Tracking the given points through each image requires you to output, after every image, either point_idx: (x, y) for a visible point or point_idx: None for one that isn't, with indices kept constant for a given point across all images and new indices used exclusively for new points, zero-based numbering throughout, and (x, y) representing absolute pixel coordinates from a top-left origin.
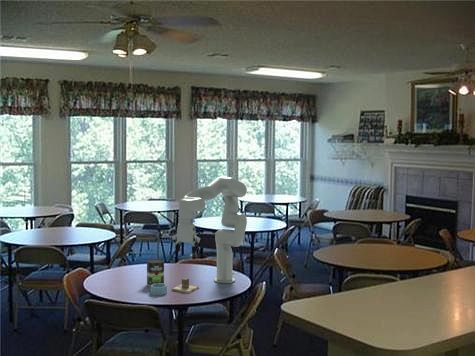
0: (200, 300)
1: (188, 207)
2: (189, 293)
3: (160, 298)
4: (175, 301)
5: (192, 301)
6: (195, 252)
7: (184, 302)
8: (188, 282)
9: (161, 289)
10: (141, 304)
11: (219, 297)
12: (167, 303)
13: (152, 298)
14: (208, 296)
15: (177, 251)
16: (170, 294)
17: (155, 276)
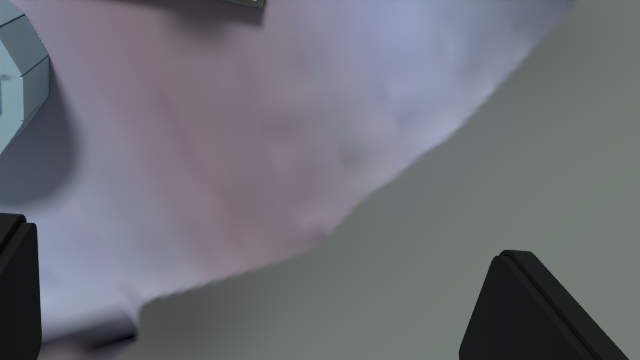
0: (406, 151)
1: None
2: (262, 4)
3: (75, 198)
4: (230, 228)
5: (354, 190)
6: (524, 255)
7: (304, 228)
8: None
9: (11, 140)
10: None
11: (540, 29)
12: (195, 283)
13: None
14: (447, 27)
15: (35, 354)
16: (92, 64)
17: None
